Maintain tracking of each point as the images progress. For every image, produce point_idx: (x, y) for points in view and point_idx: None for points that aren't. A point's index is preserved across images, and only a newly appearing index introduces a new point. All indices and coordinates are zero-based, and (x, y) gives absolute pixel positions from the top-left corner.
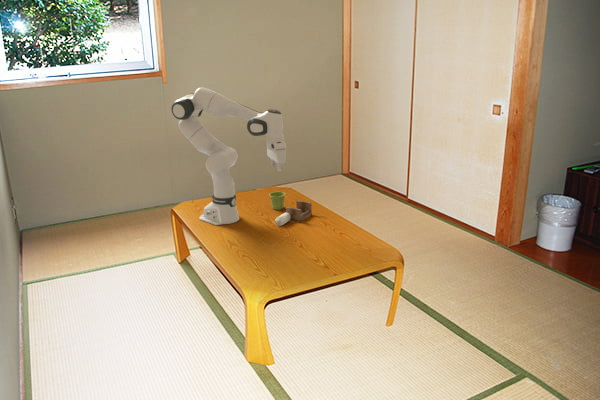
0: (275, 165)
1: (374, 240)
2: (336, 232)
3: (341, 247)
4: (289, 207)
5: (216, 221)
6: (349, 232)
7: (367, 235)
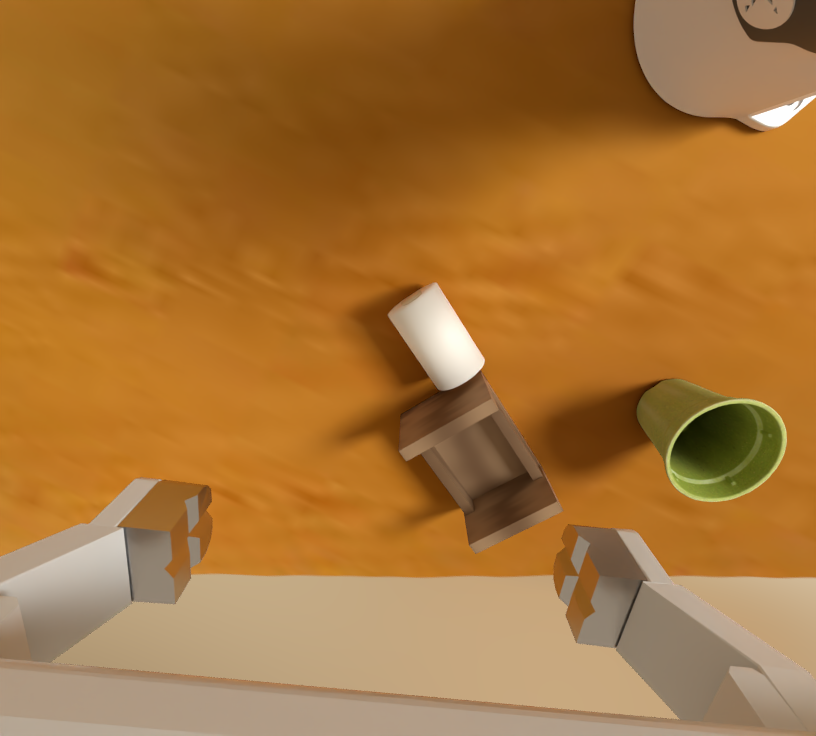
0: (563, 598)
1: None
2: None
3: (17, 426)
4: (477, 418)
5: None
6: None
7: None
